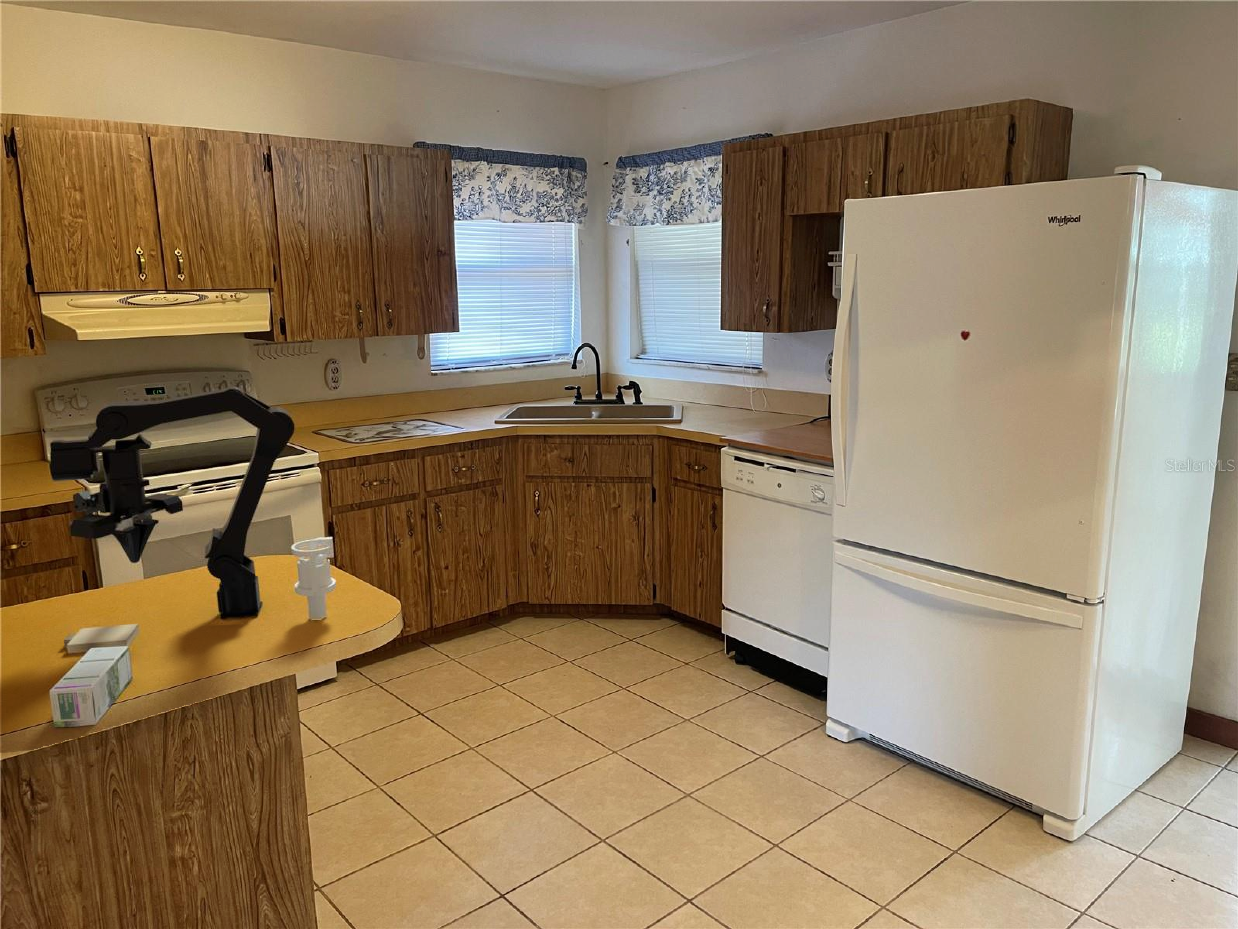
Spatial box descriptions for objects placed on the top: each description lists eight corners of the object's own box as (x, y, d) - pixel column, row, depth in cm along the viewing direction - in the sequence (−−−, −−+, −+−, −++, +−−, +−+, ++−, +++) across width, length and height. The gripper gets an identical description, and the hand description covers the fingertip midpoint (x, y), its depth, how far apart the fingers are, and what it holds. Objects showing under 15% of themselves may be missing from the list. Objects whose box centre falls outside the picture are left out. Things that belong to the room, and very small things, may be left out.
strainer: (338, 622, 161) (332, 543, 157) (296, 627, 159) (289, 546, 155) (338, 608, 167) (332, 531, 164) (298, 612, 165) (291, 535, 162)
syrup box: (89, 647, 137) (45, 691, 123) (130, 644, 138) (91, 688, 124) (94, 681, 138) (50, 729, 124) (135, 678, 139) (96, 726, 125)
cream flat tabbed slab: (139, 631, 157) (138, 623, 156) (127, 648, 150) (126, 639, 150) (74, 637, 154) (73, 629, 154) (59, 654, 148) (58, 645, 147)
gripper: (132, 461, 164) (142, 542, 168) (38, 484, 147) (52, 574, 150) (180, 465, 161) (189, 548, 164) (90, 490, 143) (102, 582, 147)
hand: (134, 562), depth 156 cm, fingers closed
